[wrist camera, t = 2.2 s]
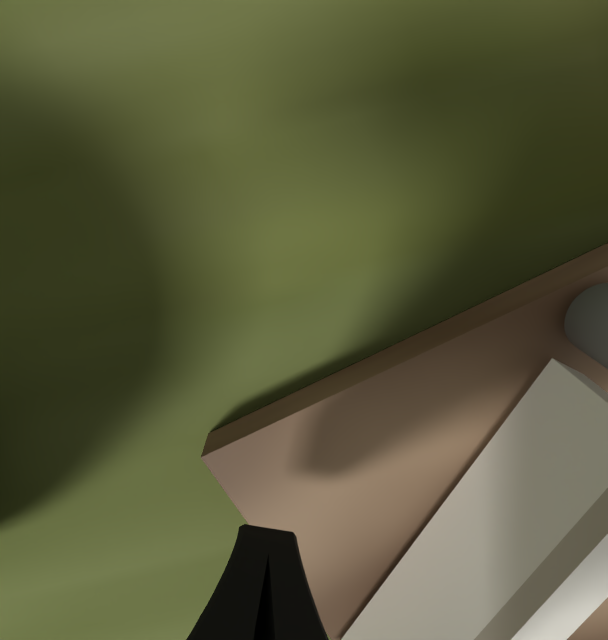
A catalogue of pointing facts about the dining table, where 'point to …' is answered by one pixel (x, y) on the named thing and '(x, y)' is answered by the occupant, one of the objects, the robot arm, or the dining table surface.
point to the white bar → (517, 519)
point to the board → (398, 438)
